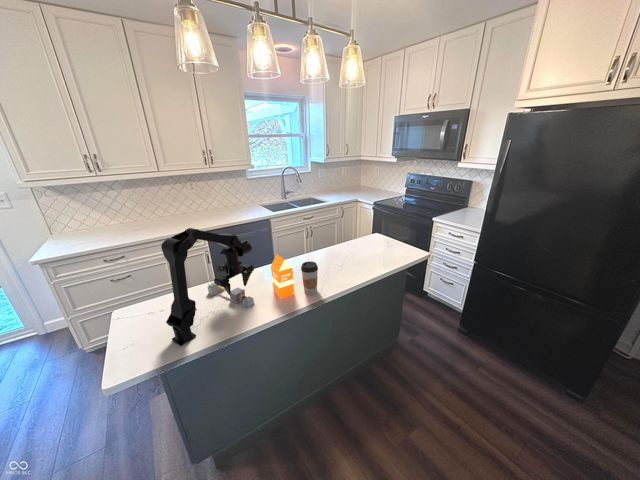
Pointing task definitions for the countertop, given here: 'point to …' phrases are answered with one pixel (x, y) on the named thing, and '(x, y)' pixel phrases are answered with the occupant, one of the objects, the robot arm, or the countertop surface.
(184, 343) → the robot arm
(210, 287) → the cord rig
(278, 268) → the orange juice
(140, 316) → the countertop surface
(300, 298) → the countertop surface
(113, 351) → the countertop surface
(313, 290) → the coffee cup
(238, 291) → the sleeve
